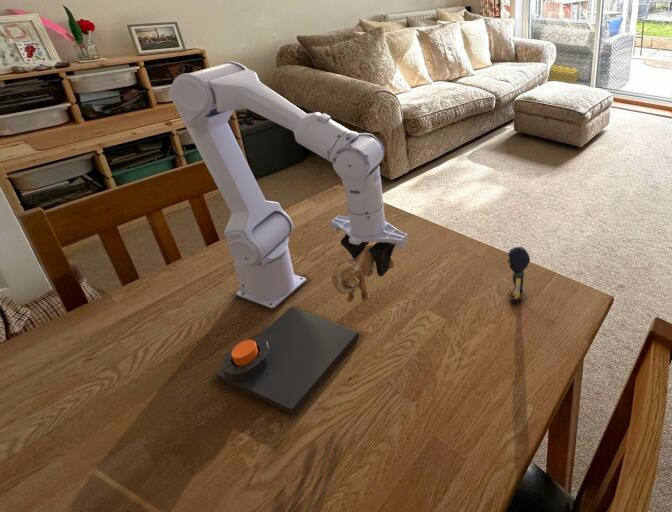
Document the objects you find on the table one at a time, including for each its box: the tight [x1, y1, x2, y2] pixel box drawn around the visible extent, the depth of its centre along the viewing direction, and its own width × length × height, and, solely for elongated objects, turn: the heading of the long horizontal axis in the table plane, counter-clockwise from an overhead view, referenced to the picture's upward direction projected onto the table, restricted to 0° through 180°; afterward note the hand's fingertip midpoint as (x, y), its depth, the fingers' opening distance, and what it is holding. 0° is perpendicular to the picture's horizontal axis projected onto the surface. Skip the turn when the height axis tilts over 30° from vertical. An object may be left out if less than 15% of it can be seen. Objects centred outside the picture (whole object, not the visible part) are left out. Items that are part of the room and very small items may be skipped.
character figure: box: [507, 246, 531, 304], centre depth 76 cm, size 9×4×12 cm, turn 178°
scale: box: [215, 306, 360, 415], centre depth 65 cm, size 15×14×3 cm
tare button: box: [231, 339, 258, 366], centre depth 62 cm, size 3×3×2 cm
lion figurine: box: [330, 242, 395, 303], centre depth 70 cm, size 15×5×9 cm, turn 172°
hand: (373, 269), depth 73 cm, fingers closed on lion figurine, 4 cm apart
